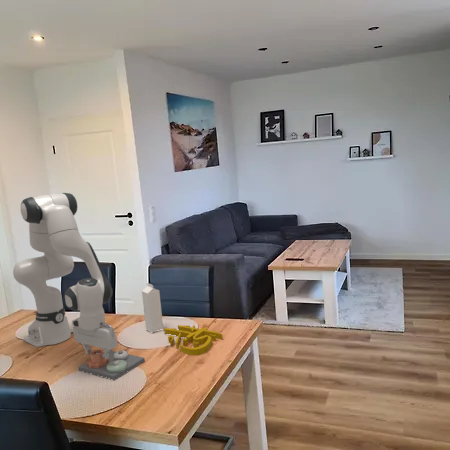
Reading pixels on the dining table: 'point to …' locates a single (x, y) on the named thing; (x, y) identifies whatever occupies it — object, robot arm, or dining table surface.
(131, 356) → the carrier
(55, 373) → the dining table surface
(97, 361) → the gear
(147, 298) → the milk
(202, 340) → the decorative art
